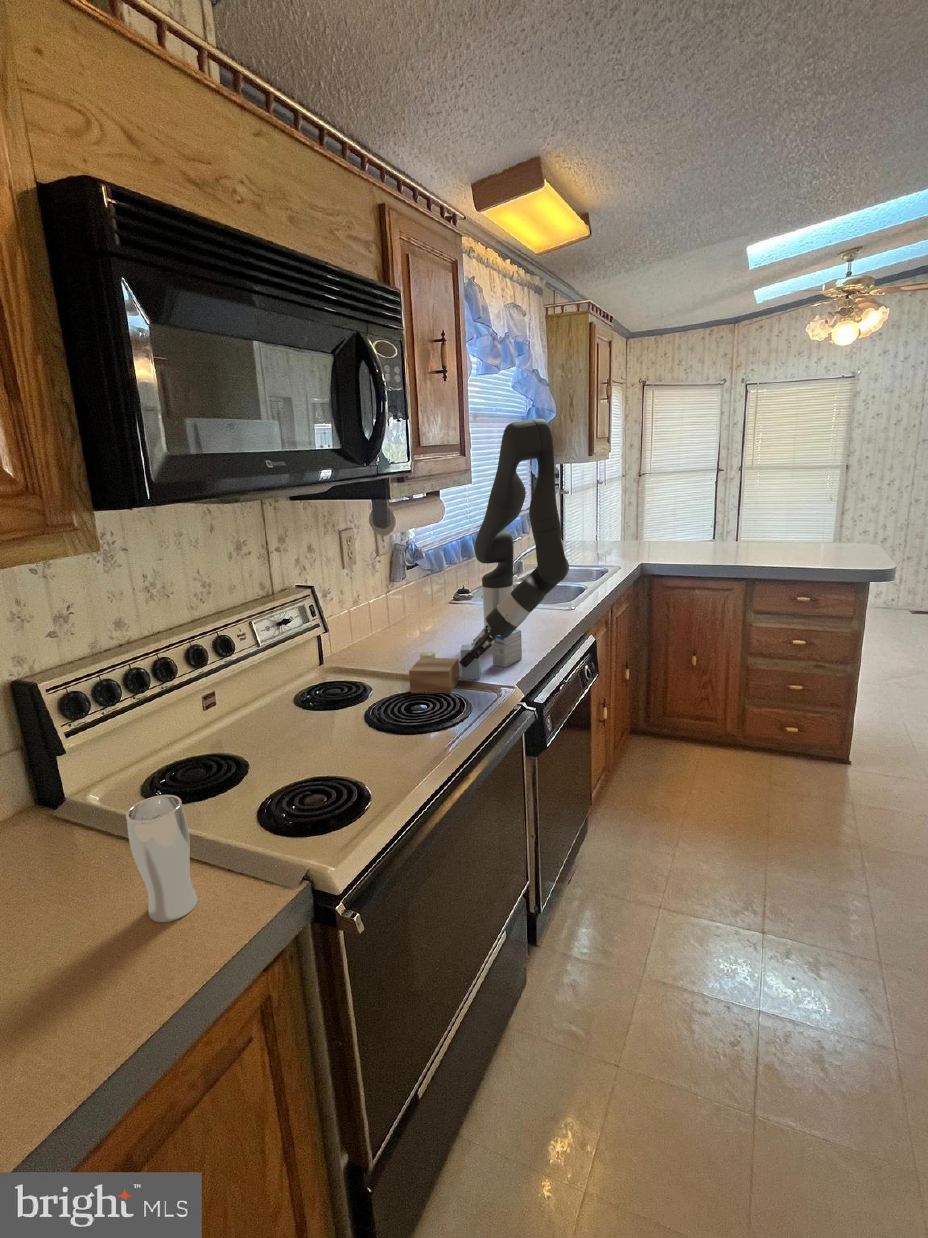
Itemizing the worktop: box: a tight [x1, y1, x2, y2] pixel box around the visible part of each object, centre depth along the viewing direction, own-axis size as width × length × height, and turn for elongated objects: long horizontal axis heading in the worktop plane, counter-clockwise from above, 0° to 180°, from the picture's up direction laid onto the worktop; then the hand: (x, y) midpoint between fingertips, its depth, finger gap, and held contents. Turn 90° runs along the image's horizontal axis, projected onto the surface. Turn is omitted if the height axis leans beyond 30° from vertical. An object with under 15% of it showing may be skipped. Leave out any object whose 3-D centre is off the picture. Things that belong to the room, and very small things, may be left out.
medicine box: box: [491, 628, 523, 668], centre depth 177 cm, size 8×4×9 cm, turn 141°
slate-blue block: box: [460, 644, 482, 680], centre depth 167 cm, size 4×4×8 cm
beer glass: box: [125, 794, 198, 923], centre depth 85 cm, size 7×7×15 cm
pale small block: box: [419, 651, 436, 659], centre depth 173 cm, size 4×4×5 cm
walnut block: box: [408, 657, 461, 695], centre depth 162 cm, size 10×10×6 cm
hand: (463, 661), depth 167 cm, fingers closed on slate-blue block, 4 cm apart
